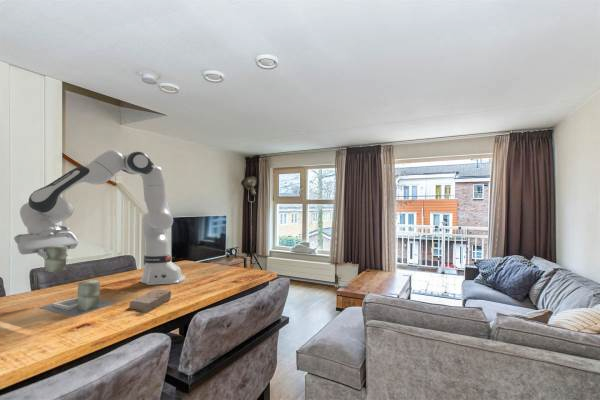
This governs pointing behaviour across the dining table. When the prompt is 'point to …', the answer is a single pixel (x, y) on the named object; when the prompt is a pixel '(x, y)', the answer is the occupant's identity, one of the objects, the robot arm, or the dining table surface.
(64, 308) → the base board
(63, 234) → the robot arm
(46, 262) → the column
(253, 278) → the dining table surface
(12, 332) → the dining table surface
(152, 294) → the brick
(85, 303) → the column
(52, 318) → the dining table surface
